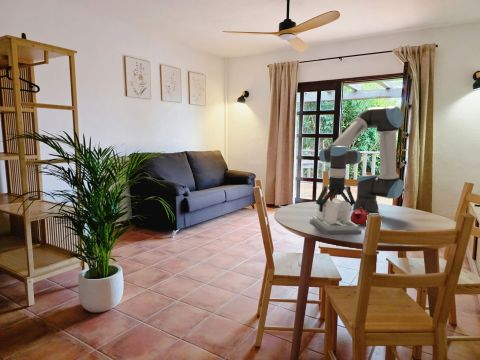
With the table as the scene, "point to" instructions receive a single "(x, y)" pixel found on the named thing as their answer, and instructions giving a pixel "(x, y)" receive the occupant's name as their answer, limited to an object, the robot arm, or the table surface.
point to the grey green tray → (335, 227)
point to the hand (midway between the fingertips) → (334, 217)
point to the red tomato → (359, 217)
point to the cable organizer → (335, 211)
